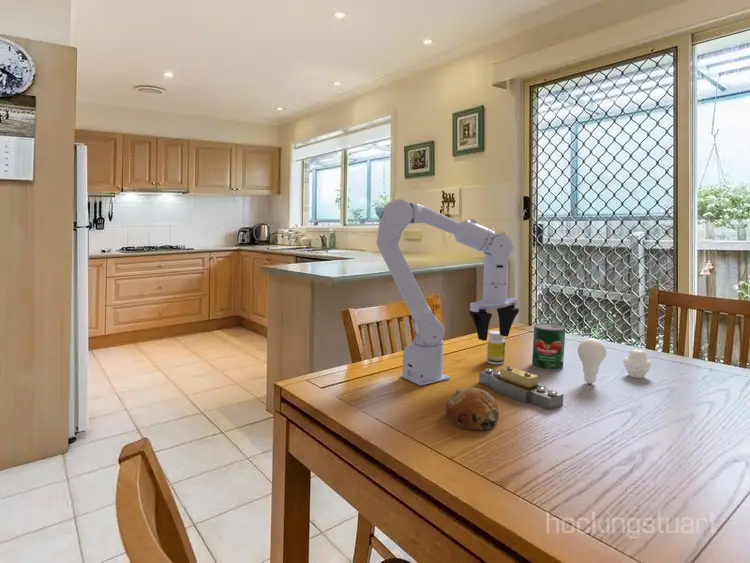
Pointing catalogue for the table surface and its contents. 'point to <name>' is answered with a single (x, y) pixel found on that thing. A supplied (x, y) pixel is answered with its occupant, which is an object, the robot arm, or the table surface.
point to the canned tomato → (548, 346)
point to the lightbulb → (591, 357)
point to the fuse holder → (522, 391)
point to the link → (519, 378)
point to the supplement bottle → (495, 348)
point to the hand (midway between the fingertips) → (493, 337)
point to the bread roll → (472, 409)
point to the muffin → (637, 363)
